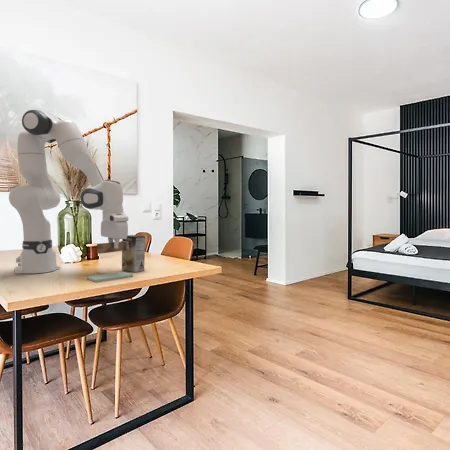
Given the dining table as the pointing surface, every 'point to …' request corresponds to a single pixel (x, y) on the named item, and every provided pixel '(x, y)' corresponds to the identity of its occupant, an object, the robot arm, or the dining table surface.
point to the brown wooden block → (109, 247)
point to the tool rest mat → (109, 276)
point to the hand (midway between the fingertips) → (113, 247)
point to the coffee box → (134, 254)
